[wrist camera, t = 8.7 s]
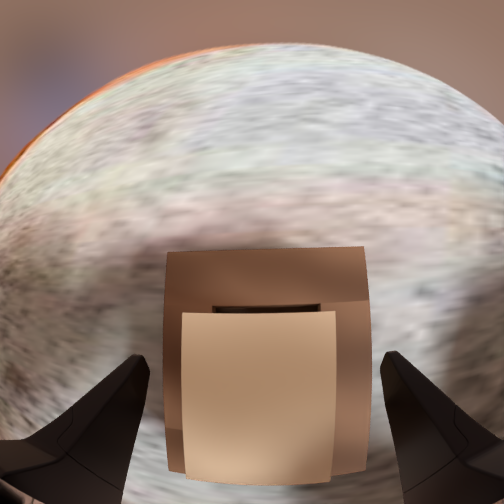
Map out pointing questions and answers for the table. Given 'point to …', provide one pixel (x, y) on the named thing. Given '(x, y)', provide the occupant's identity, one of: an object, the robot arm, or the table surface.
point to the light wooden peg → (258, 397)
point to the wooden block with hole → (277, 301)
